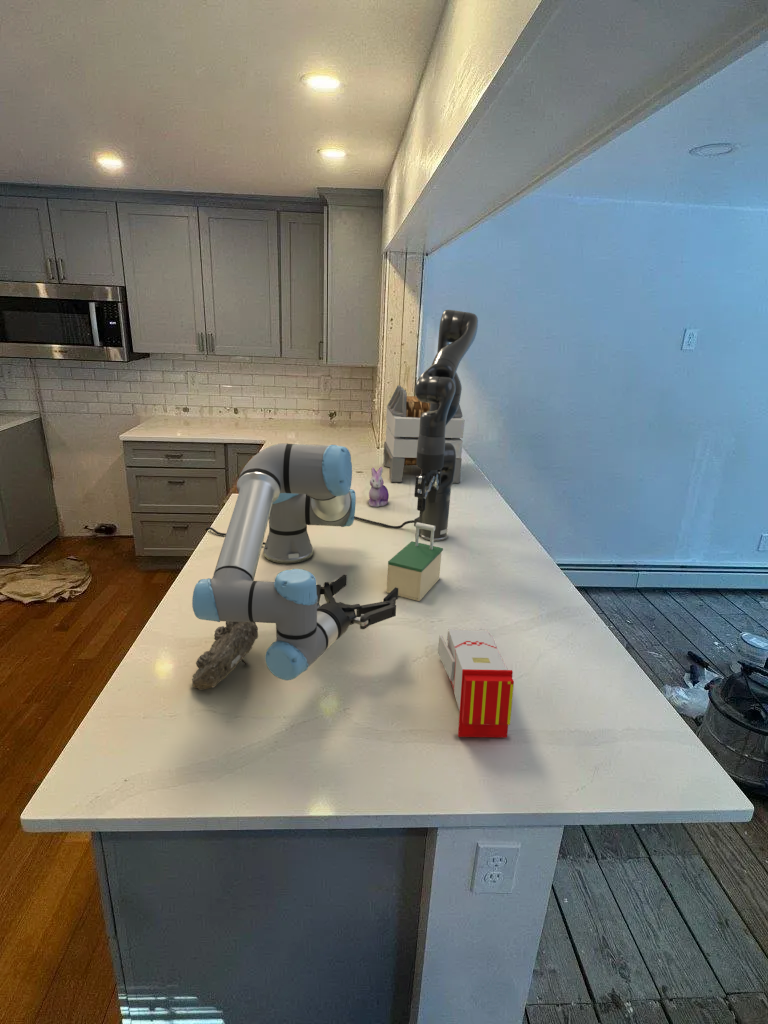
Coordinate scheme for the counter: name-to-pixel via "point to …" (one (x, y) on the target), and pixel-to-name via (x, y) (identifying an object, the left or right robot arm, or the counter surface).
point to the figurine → (377, 489)
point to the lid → (417, 552)
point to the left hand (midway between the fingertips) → (370, 586)
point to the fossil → (224, 653)
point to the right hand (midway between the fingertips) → (426, 506)
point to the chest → (413, 580)
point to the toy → (478, 682)
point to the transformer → (414, 434)
